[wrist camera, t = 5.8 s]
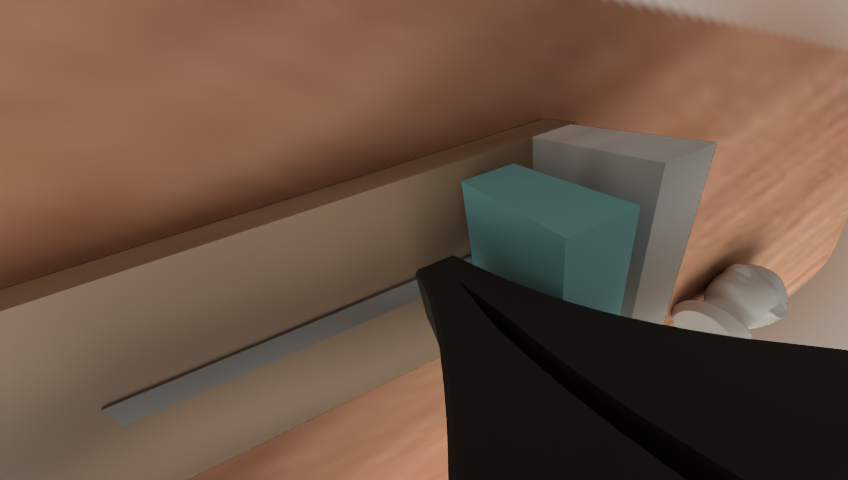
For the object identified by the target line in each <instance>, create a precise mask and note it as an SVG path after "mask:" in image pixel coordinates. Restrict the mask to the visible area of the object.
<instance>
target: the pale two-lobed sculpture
mask: <svg viewBox="0 0 848 480" xmlns="http://www.w3.org/2000/svg"><path fill="white" fill-rule="evenodd" d="M787 304H788V298H787V293H786V289H785V286H784V283H783V281H782V280H781V278H780V277H779V276H778V275H777V274H776V273H774V272H772V271H771V270H769V269H766V268H764V267H761V266H757V265H752V264H733V265H731V266H729V267H727V268H726V269H725V270H724V271H723V273H722V274H720V275H718V276H716V277H715V278H714V279H713V280H712V282H711V283H710V284H709V286H708V287H707V289H706V291H705V293H704V300H702V301H697V300H688V301H683V302H680V303H678V304H676V305H675V306H674V308H673V311H672V321H673V324H674V325H675V326H676V327H678V328H683V329H689V330H694V331H701V332H707V333H713V334H720V335H726V336H732V337H739V338H746V339H752V335H751V333H750V332H749V330H748V329H753V328H759V327H762V326H766V325H768V324H771V323H773V322H775V321H776V320H778V319H783V318H785V317H786V316H787V312H786V307H787Z"/></svg>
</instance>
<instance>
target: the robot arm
mask: <svg viewBox="0 0 848 480" xmlns="http://www.w3.org/2000/svg"><path fill="white" fill-rule="evenodd" d="M415 275H416V279H417V282H418V286H419V290H420V293H421V297H422V301H423V304H424V308H425V312H426V315H427V319H428V321H429V323H430V325H431V327H432V330H433V332H434V334H435V337H436V339H437V342H438V345H439V348H440V355H441V363H442V371H443V381H444V391H445V404H446V418H447V436H448V473H449V480H848V351H847V350H841V349H832V348H823V347H815V346H806V345H797V344H789V343H779V342H771V341H763V340H753V339H746V338H739V337H732V336H726V335H720V334H713V333H707V332H701V331H694V330H689V329H683V328H678V327H672V326H667V325H661V324H657V323H652V322H647V321H643V320H638V319H633V318H629V317H624V316H620V315H616V314H612V313H608V312H604V311H600V310H596V309H593V308H589V307H586V306H582V305H579V304H575V303H571V302H568V301H565V300H562V299H559V298H556V297H553V296H550V295H547V294H544V293H541V292H538V291H536V290H533V289H530V288H527V287H525V286H522V285H520V284H517V283H515V282H512V281H510V280H507V279H505V278H502V277H500V276H498V275H495V274H493V273H491V272H489V271H486V270H484V269H482V268H480V267H477V266H475V265H473V264H471V263H469V262H467V261H464V260H462V259H460V258H458V257H455V256H453V255H452V256H450V257H447V258H445V259H442V260H440V261H438V262H435V263H433V264H430V265H428V266H425V267H423V268H420V269H418V270H417V272H416V274H415Z"/></svg>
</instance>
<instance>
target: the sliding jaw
mask: <svg viewBox="0 0 848 480" xmlns="http://www.w3.org/2000/svg"><path fill="white" fill-rule="evenodd" d="M461 184H462V191H463V198H464V205H465V212H466V219H467V226H468V233H469V240H470V247H471V254H472V261H473V265H475V266H477V267H480V268H482V269H484V270H486V271H489V272H491V273H493V274H495V275H498V276H500V277H502V278H505V279H507V280H510V281H512V282H515V283H517V284H520V285H522V286H525V287H527V288H530V289H533V290H536V291H538V292H541V293H544V294H547V295H550V296H553V297H556V298H559V299H562V300H565V301H568V302H571V303H575V304H579V305H582V306H586V307H589V308H593V309H596V310H600V311H604V312H608V313H612V314H616V315H620V312H621V307H622V302H623V296H624V291H625V286H626V281H627V275H628V270H629V265H630V259H631V254H632V249H633V244H634V238H635V233H636V228H637V222H638V217H639V212H640V207H641V206H640V205H637V204H634V203H631V202H628V201H625V200H622V199H619V198H616V197H613V196H610V195H607V194H604V193H601V192H598V191H595V190H592V189H589V188H586V187H583V186H580V185H577V184H574V183H571V182H568V181H565V180H562V179H559V178H556V177H553V176H550V175H547V174H544V173H541V172H538V171H535V170H532V169H529V168H526V167H523V166H520V165H517V164H514V163H513V164H510V165H507V166H504V167H501V168H498V169H496V170H493V171H490V172H487V173H484V174H481V175H478V176H475V177H472V178H470V179H467V180H464V181H461Z"/></svg>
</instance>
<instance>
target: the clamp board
mask: <svg viewBox="0 0 848 480" xmlns="http://www.w3.org/2000/svg"><path fill="white" fill-rule="evenodd" d="M716 145H717V142H710V141H702V140H694V139H686V138H677V137H669V136H661V135H653V134H645V133H637V132H629V131H621V130H613V129H605V128H597V127H589V126H581V125H577V122H570V121H562V120H553V119H542V120H538V121H535V122H532V123H529V124H526V125H523V126H519V127H516V128H513V129H510V130H507V131H503V132H500V133H497V134H494V135H491V136H488V137H484V138H481V139H478V140H475V141H472V142H469V143H465V144H462V145H459V146H456V147H453V148H449V149H446V150H443V151H440V152H437V153H434V154H430V155H427V156H424V157H421V158H418V159H414V160H411V161H408V162H405V163H402V164H399V165H395V166H392V167H389V168H386V169H383V170H380V171H376V172H373V173H370V174H367V175H364V176H360V177H357V178H354V179H351V180H348V181H345V182H341V183H338V184H335V185H332V186H329V187H326V188H322V189H319V190H316V191H313V192H310V193H306V194H303V195H300V196H297V197H294V198H291V199H287V200H284V201H281V202H278V203H275V204H271V205H268V206H265V207H262V208H259V209H256V210H252V211H249V212H246V213H243V214H240V215H237V216H233V217H230V218H227V219H224V220H221V221H217V222H214V223H211V224H208V225H205V226H202V227H198V228H195V229H192V230H189V231H186V232H182V233H179V234H176V235H173V236H170V237H167V238H163V239H160V240H157V241H154V242H151V243H148V244H144V245H141V246H138V247H135V248H132V249H128V250H125V251H122V252H119V253H116V254H113V255H109V256H106V257H103V258H100V259H97V260H94V261H90V262H87V263H84V264H81V265H78V266H74V267H71V268H68V269H65V270H62V271H59V272H55V273H52V274H49V275H46V276H43V277H39V278H36V279H33V280H30V281H27V282H24V283H20V284H17V285H14V286H11V287H8V288H5V289H1V290H0V480H188V479H190V478H192V477H194V476H196V475H198V474H200V473H202V472H204V471H207V470H209V469H211V468H213V467H215V466H217V465H219V464H221V463H223V462H225V461H227V460H229V459H231V458H233V457H235V456H237V455H239V454H241V453H243V452H246V451H248V450H250V449H252V448H254V447H256V446H258V445H260V444H262V443H264V442H266V441H268V440H270V439H272V438H274V437H276V436H278V435H280V434H282V433H284V432H287V431H289V430H291V429H293V428H295V427H297V426H299V425H301V424H303V423H305V422H307V421H309V420H311V419H313V418H315V417H317V416H319V415H321V414H323V413H326V412H328V411H330V410H332V409H334V408H336V407H338V406H340V405H342V404H344V403H346V402H348V401H350V400H352V399H354V398H356V397H358V396H360V395H362V394H365V393H367V392H369V391H371V390H373V389H375V388H377V387H379V386H381V385H383V384H385V383H387V382H389V381H391V380H393V379H395V378H397V377H399V376H401V375H403V374H406V373H408V372H410V371H412V370H414V369H416V368H418V367H420V366H422V365H424V364H426V363H428V362H430V361H432V360H434V359H436V358H438V357H440V356H441V355H440V348H439V345H438V342H437V339H436V337H435V334H434V332H433V330H432V327H431V325H430V323H429V321H428V319H427V315H426V312H425V308H424V304H423V301H422V297H421V293H420V290H419V286H418V282H417V279H416V275H415V274H416V272H417V270H418V269H420V268H423V267H425V266H428V265H430V264H433V263H435V262H438V261H440V260H442V259H445V258H447V257H450V256H452V255H453V256H455V257H458V258H460V259H462V260H464V261H467V262H469V263H471V264H473V261H472V254H471V247H470V240H469V233H468V226H467V219H466V212H465V205H464V198H463V191H462V184H461V181H464V180H467V179H470V178H472V177H475V176H478V175H481V174H484V173H487V172H490V171H493V170H496V169H498V168H501V167H504V166H507V165H510V164H513V163H514V164H517V165H520V166H523V167H526V168H529V169H532V170H535V171H538V172H541V173H544V174H547V175H550V176H553V177H556V178H559V179H562V180H565V181H568V182H571V183H574V184H577V185H580V186H583V187H586V188H589V189H592V190H595V191H598V192H601V193H604V194H607V195H610V196H613V197H616V198H619V199H622V200H625V201H628V202H631V203H634V204H637V205H640V206H641V207H640V212H639V217H638V222H637V228H636V233H635V238H634V244H633V249H632V254H631V259H630V265H629V270H628V275H627V281H626V286H625V291H624V296H623V302H622V307H621V312H620V316H624V317H629V318H633V319H638V320H643V321H647V322H652V323H657V324H661V325H663V323H664V320H665V316H666V313H667V309H668V306H669V303H670V299H671V296H672V293H673V289H674V286H675V283H676V279H677V276H678V273H679V269H680V266H681V263H682V259H683V256H684V252H685V249H686V246H687V242H688V239H689V236H690V232H691V229H692V226H693V222H694V219H695V216H696V212H697V209H698V205H699V202H700V199H701V195H702V192H703V189H704V185H705V182H706V179H707V175H708V172H709V169H710V165H711V162H712V159H713V155H714V152H715V148H716Z"/></svg>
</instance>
